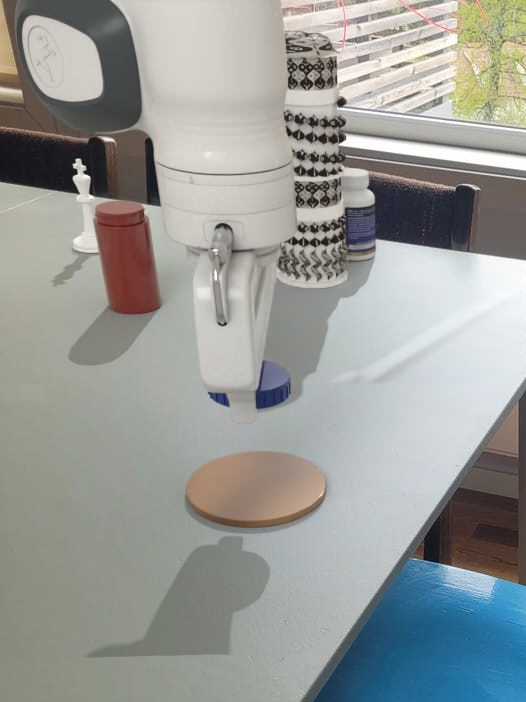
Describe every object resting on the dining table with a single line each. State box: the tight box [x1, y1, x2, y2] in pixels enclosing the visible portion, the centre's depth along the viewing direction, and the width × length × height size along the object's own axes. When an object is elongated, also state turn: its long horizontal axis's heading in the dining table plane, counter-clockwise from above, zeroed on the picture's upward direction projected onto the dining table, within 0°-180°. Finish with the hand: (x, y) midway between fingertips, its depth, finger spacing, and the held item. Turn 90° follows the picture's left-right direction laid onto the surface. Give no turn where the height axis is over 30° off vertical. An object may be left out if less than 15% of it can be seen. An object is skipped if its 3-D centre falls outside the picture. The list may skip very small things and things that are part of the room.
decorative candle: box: [276, 30, 349, 289], centre depth 111 cm, size 9×9×25 cm
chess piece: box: [72, 158, 99, 254], centre depth 120 cm, size 5×5×10 cm
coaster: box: [185, 450, 327, 528], centre depth 80 cm, size 11×11×1 cm
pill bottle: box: [341, 167, 377, 262], centre depth 123 cm, size 5×5×10 cm
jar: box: [93, 200, 163, 315], centre depth 106 cm, size 6×6×10 cm
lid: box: [207, 360, 292, 410], centre depth 74 cm, size 6×6×1 cm
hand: (249, 396), depth 75 cm, fingers closed on lid, 6 cm apart
